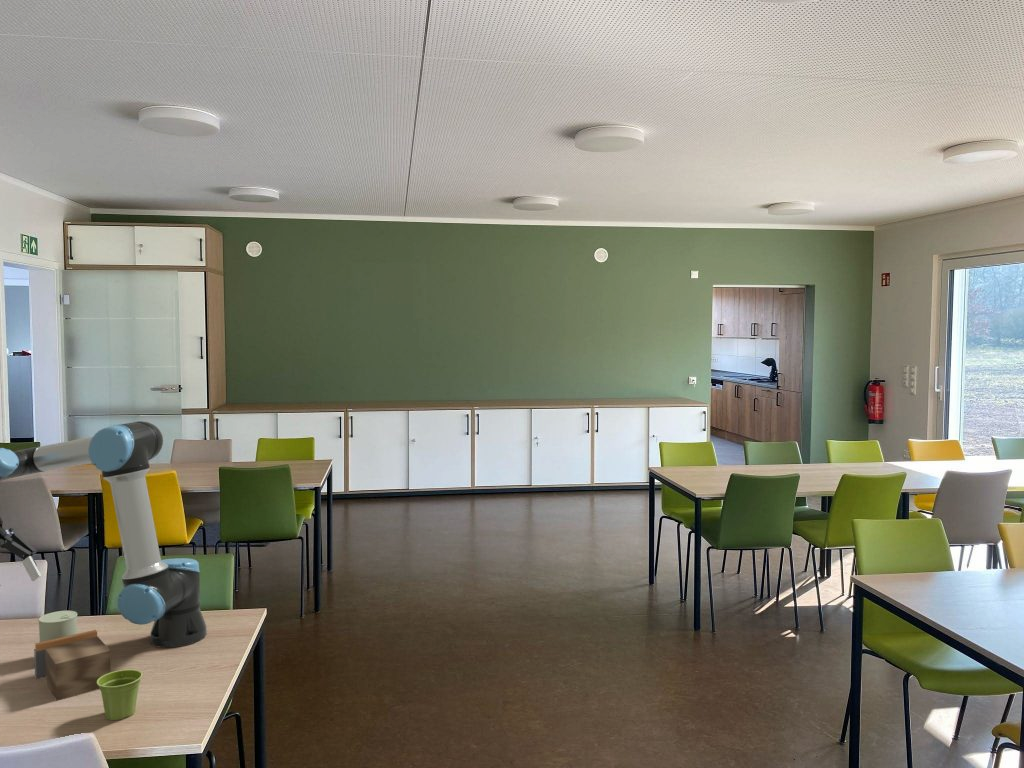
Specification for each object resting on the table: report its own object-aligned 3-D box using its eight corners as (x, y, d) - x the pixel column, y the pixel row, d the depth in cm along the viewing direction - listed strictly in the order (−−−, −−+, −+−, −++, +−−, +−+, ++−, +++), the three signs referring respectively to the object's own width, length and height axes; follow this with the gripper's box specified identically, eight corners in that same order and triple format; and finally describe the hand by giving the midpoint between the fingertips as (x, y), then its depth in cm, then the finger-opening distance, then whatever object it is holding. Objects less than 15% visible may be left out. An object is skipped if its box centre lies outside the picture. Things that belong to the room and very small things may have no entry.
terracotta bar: (95, 635, 203) (95, 629, 203) (97, 637, 202) (97, 631, 202) (35, 649, 194) (35, 643, 194) (36, 651, 192) (36, 645, 192)
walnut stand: (98, 670, 198) (97, 636, 197) (111, 685, 189) (110, 650, 188) (46, 683, 190) (45, 648, 189) (56, 700, 181) (55, 664, 180)
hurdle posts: (96, 660, 204) (96, 635, 203) (99, 663, 202) (98, 637, 202) (34, 675, 194) (34, 649, 194) (36, 678, 192) (36, 652, 192)
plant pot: (108, 705, 179) (107, 669, 178) (149, 703, 179) (148, 668, 179) (89, 725, 169) (89, 687, 169) (133, 723, 170) (132, 686, 170)
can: (61, 665, 200) (60, 621, 200) (31, 663, 202) (29, 619, 201) (86, 652, 209) (85, 609, 209) (57, 649, 211) (56, 607, 210)
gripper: (9, 519, 221) (42, 581, 218) (-70, 531, 197) (-34, 601, 194) (28, 505, 220) (62, 567, 217) (-49, 515, 196) (-13, 585, 193)
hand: (17, 583), depth 205 cm, fingers open, 13 cm apart
